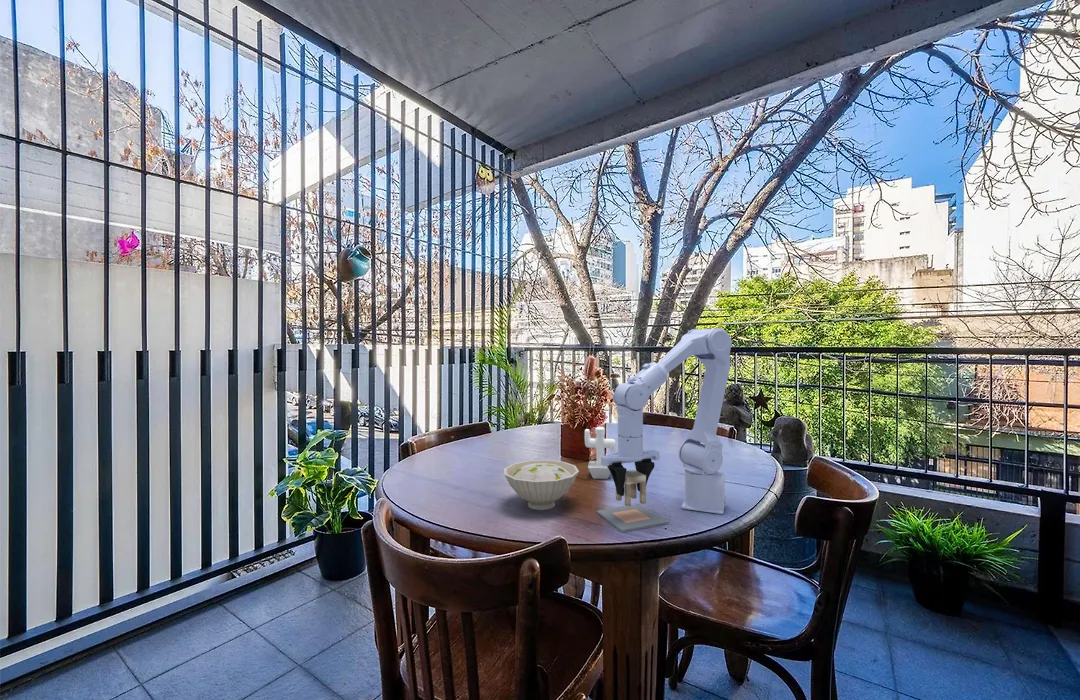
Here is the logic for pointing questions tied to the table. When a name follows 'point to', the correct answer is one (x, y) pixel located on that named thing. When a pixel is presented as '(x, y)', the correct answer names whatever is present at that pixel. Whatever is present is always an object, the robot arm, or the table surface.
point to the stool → (633, 487)
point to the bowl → (541, 481)
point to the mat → (631, 517)
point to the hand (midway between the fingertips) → (630, 493)
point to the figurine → (599, 452)
